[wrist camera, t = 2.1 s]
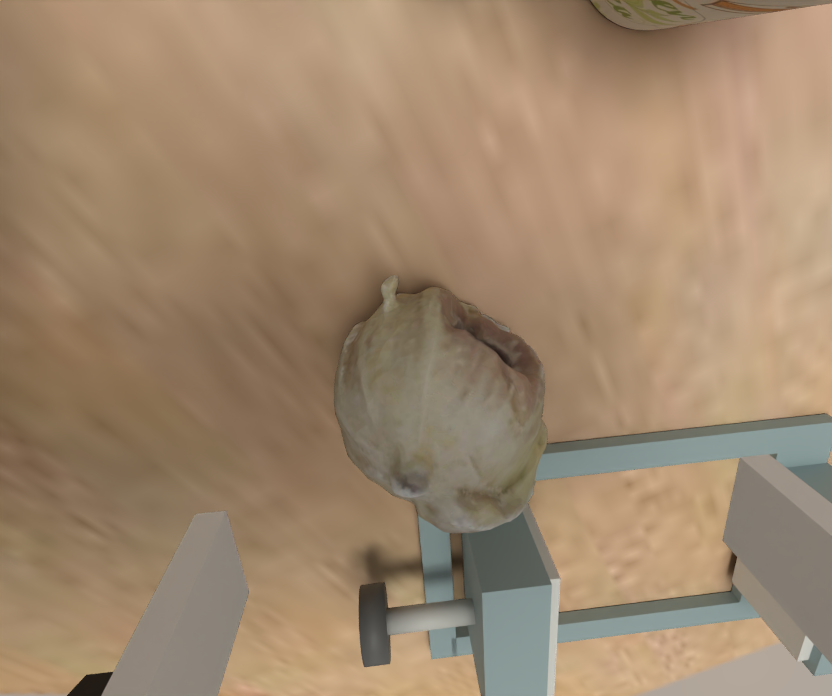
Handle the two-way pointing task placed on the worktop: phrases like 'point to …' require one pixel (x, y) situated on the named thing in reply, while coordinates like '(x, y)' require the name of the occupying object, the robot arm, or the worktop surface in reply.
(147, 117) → the worktop surface
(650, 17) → the mug
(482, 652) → the jaw
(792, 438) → the vise
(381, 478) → the garlic bulb
